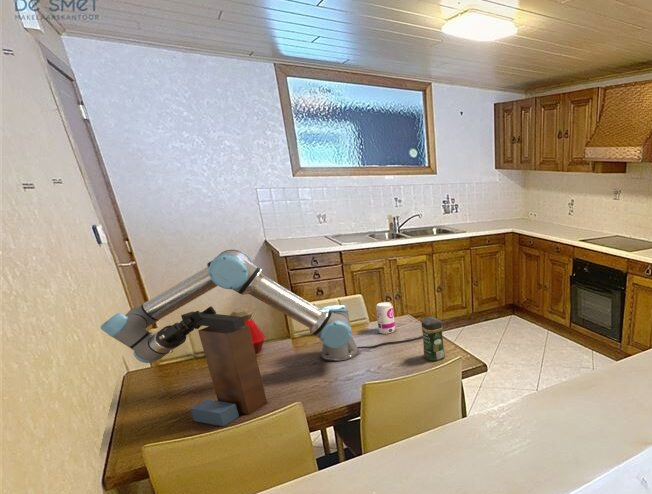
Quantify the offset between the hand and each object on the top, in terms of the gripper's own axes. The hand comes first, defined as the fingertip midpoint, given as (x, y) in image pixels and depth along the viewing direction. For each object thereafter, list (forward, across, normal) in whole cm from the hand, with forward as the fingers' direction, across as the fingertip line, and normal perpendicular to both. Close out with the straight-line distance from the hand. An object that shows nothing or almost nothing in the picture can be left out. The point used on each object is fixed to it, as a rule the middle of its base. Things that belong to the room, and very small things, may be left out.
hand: (206, 312), depth 141 cm
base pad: (-15, +9, -32) cm, 36 cm away
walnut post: (-13, 0, -33) cm, 35 cm away
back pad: (0, 0, -4) cm, 5 cm away
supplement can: (-5, -79, -38) cm, 88 cm away
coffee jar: (+28, -56, -57) cm, 84 cm away
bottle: (-46, -41, -14) cm, 63 cm away
